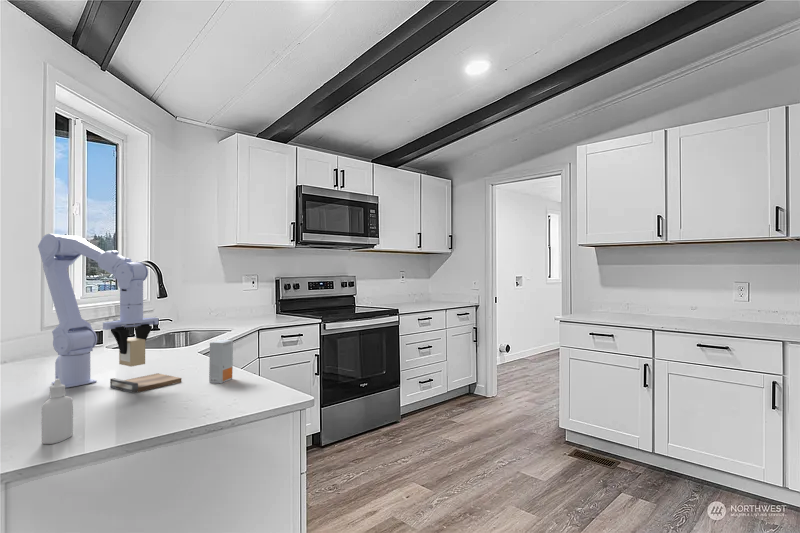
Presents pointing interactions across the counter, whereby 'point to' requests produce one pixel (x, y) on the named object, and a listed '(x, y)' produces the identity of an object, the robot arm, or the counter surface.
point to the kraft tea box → (133, 353)
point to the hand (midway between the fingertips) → (131, 352)
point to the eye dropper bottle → (57, 415)
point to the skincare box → (221, 361)
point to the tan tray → (144, 382)
